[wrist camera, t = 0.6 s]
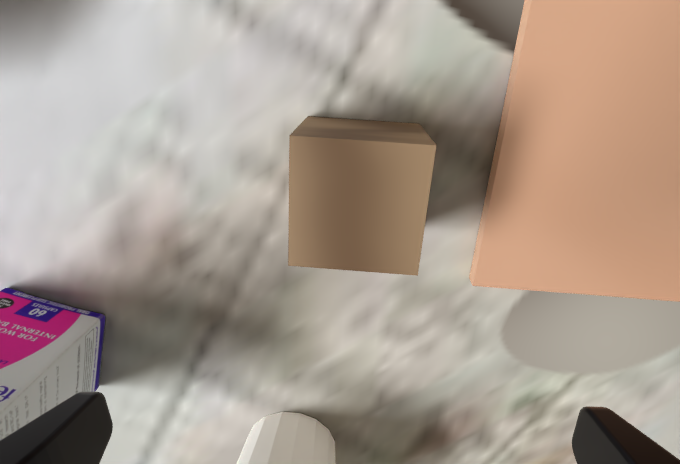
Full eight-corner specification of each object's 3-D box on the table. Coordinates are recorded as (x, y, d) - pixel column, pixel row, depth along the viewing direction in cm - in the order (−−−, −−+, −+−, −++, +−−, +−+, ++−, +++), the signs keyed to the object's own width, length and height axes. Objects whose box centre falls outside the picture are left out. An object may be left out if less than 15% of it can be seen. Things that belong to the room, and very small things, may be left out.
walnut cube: (419, 123, 19) (436, 145, 14) (406, 226, 21) (417, 275, 16) (308, 115, 19) (289, 135, 14) (305, 219, 21) (288, 265, 16)
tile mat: (914, -24, 16) (941, -28, 15) (750, 299, 21) (763, 308, 20) (533, -44, 16) (541, -49, 15) (469, 277, 22) (472, 285, 21)
